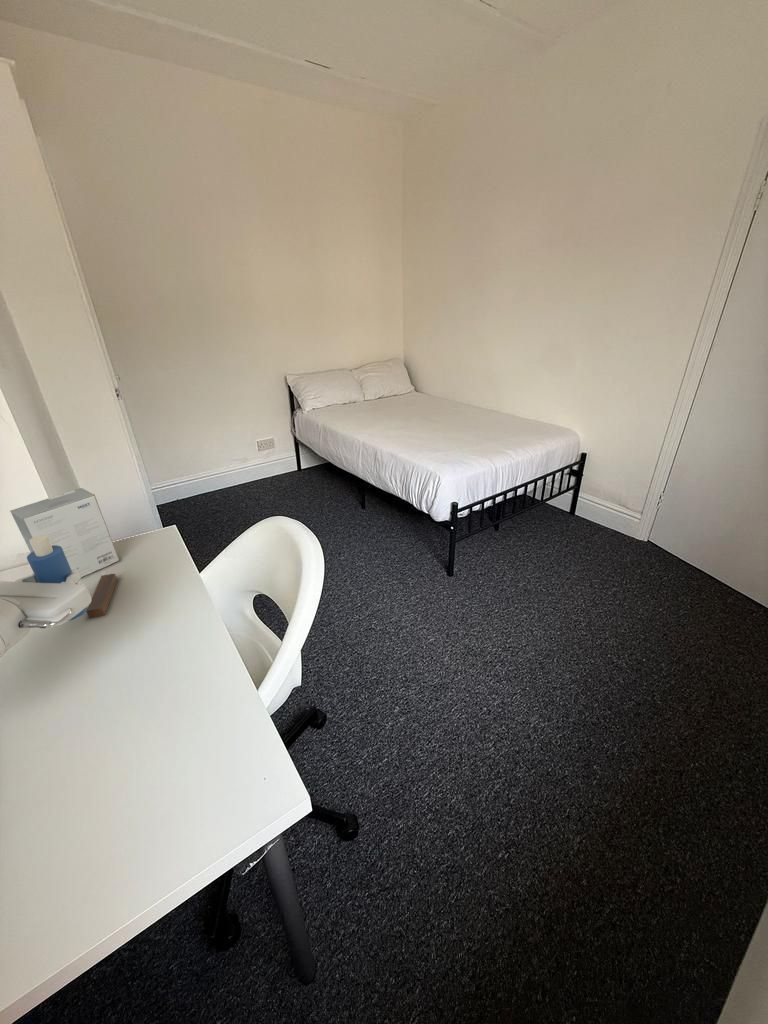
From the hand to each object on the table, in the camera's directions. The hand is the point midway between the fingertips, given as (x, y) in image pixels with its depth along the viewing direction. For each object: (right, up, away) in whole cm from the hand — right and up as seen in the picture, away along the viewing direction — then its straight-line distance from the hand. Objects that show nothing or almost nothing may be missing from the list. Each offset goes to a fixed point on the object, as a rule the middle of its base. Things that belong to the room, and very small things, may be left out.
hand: (59, 574), depth 79 cm
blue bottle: (0, -8, +3) cm, 9 cm away
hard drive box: (-17, -4, +30) cm, 35 cm away
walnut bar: (-5, -9, +20) cm, 22 cm away
